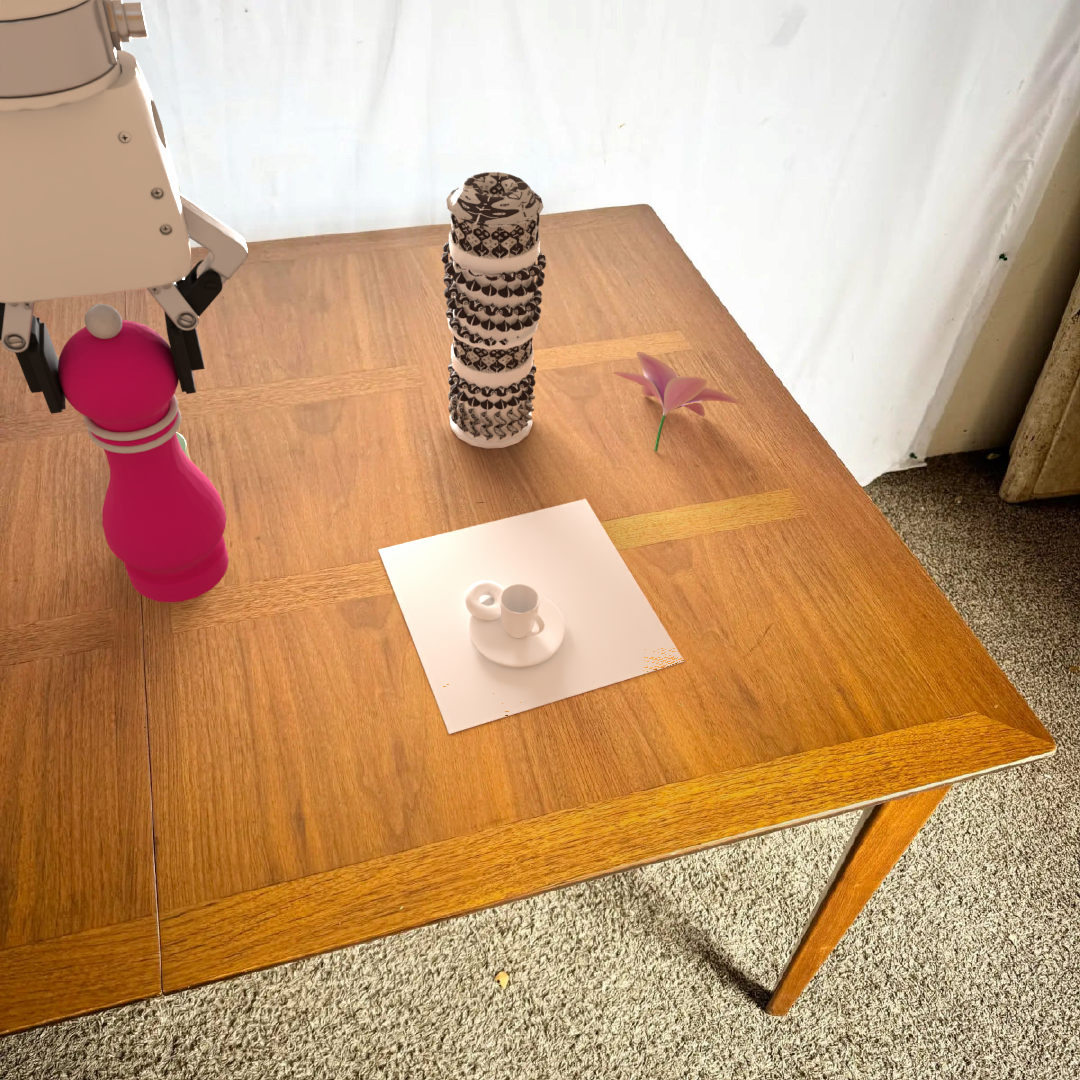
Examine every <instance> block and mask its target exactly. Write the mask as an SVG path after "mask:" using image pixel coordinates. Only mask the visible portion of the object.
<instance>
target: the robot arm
mask: <svg viewBox="0 0 1080 1080" xmlns="http://www.w3.org/2000/svg"><path fill="white" fill-rule="evenodd" d="M145 38H146V39H148V38H149V33H148V29H147V23H146V20H145V14H144V10H143V5H142V2H141V1H139V2H123V0H0V341H1V345H2V347H3V348H4V349H5V350H6V351H8V352H12V353H15V356H16V359H17V361H18V364H19V366H20V369H21V371H22V373H23V376H24V378H25V381H26V384H27V387H28V388H29V391H30V393H31V394H35V393H36V394H37V393H42V395H43V397H44V400H45V403H46V405H47V407H48V410H49V412H50V414H51V415H53V414H61V413H63V410H66V407H67V406H66V402H67V401H66V397H65V395H64V393H63V391H62V388H61V385H60V382H59V377H58V362H59V357H58V355H57V351H56V349H55V346H54V344H53V341H52V338H51V335H50V333H49V329H48V327H47V325H46V323H45V322H42V321H41V318H40V316H39V317H37V316H35V315H34V309H35V302H44V301H54V300H64V299H73V298H81V297H90V296H97V295H106V294H107V295H108V294H115V293H123V292H132V291H140V290H147V291H148V293H150V295H151V296H152V297H153V299H154V300H155V301H156V303H158V305H159V306H160V308H162V310H163V312H164V319H165V327H166V335H167V339H168V345H169V346H170V348H171V351H172V355H173V359H174V363H175V367H176V371H177V374H178V378H179V381H178V383H179V387H180V390H181V393H185V394H186V395H190V394H196V393H197V389H196V382H195V375H194V371H201V370H205V368H206V367H205V362H204V357H203V356H204V355H203V351H202V347H201V343H200V338H199V335H198V330H197V327H198V326H199V323H200V319H199V318H200V317H201V315H202V314H203V313H204V312H206V310H207V309H208V308H209V306H210V305H211V304H212V302H214V300H215V299H216V298H217V297H218V295H220V293H221V292H222V291H223V285H224V284H226V282H227V281H228V280H231V278H232V277H233V276H234V274H236V272H237V271H238V270H239V269H240V268H241V267H242V265H244V263H245V262H246V261H247V259H248V257H249V250H248V246H247V243H246V239H245V238H244V237H243V235H241V234H240V233H239V232H237V231H235V230H234V229H232V228H231V227H230V226H228V225H227V224H225V223H224V222H223V221H221V220H220V219H218V218H217V217H216V216H214V215H212V214H211V213H210V212H208V211H207V210H204V209H203V208H202V207H200V206H199V205H198V204H196V203H195V202H193V201H191V200H190V199H189V198H188V197H186V196H185V195H184V194H182V193H181V189H180V185H179V181H178V178H177V177H178V176H177V174H176V173H177V172H176V170H175V166H174V163H173V159H172V154H171V151H170V148H169V145H168V144H169V143H168V141H167V138H166V134H165V131H164V127H163V124H162V121H161V118H160V115H159V112H158V109H157V107H156V103H155V101H154V99H153V95H152V93H151V91H150V88H149V85H148V83H147V80H146V78H145V76H144V74H143V71H142V69H141V67H140V65H139V63H138V61H137V59H136V57H135V56H134V55H133V54H132V53H130V52H128V51H125V50H123V46H122V45H123V44H122V43H132V39H145ZM190 239H191V240H192V241H194V242H195V243H197V244H198V245H199V246H201V247H203V248H204V249H205V250H207V251H208V253H207V254H206V256H205V258H204V259H202V260H199V261H198V262H197V263H196V264H195V265H194V266H193V260H192V258H193V257H192V252H191V250H192V248H191V242H190V241H191V240H190ZM192 266H193V267H192Z"/></svg>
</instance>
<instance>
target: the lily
mask: <svg viewBox="0 0 1080 1080" xmlns="http://www.w3.org/2000/svg"><path fill="white" fill-rule="evenodd" d="M636 356H637V359H638V361H639V363H640V367H641V370H642V371H641V372H642V374H643V375H642V374H640V373H635V372H627V371H613V372H612V374H613V375H615V376H618V377H620V378H623V379H626V380H628V381H631V382H633V383H636V384H638V385H639V386H640V385H641V386H642V387H641V394H642V395H643V397H647V398H648V397H650V398H656V400H657V401H658V403H659V404H660V406H661V408H662V409H663V412H662V415H661V418H660V419H661V420H660V422H659V427H658V429H657V430H658V431H657V436H656V441H655V446H654V452H658V449H659V444H660V440H661V434H662V430H663V426H664V424H665V423H664V422H665V419H666V417H667V415H668V413H670V412H672V411H675V410H676V409H679V408H682V407H685V408H687V409H689V410H690V411H691V412H694V413H695V414H697V415H698V416H700V417H702V418H704V417H706V412H705V411H706V410H705V408H704V406H703V404H702V403H701V402H711V401H712V402H722V403H730V404H735V405H744V402H742V400H740V399H737V398H736V397H734V396H732V395H730V394H728V393H726V392H723V390H719V389H715V388H711V387H706V386H707V383H708V381H707V380H706V379H705V378H703V377H700V376H699V377H698V376H688V375H687V376H686V375H685V376H684V375H683V376H680V374H677V372H676V371H675V369H673V368H672V367H671V366H670V365H668V364H667V363H665V362H664V361H662V360H660V359H658V358H657V357H654V356H652V355H650V354H647V353H645V352H642V351H637V352H636Z"/></svg>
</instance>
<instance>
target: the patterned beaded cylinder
mask: <svg viewBox="0 0 1080 1080" xmlns="http://www.w3.org/2000/svg"><path fill="white" fill-rule="evenodd" d="M446 207H447V209H448V211H449V212H450V225H451V226H450V230H449V232H448V241H447V242H445V243H443V244H444V245H443V246H442V251H443V253H442V254H441V256H440V258H441V259H440V260H441V262H442V263H443V264H444V266H443V272H444V274H445V275H444V276H443V283H444V285H445V286H446V288H445V289H444V291H443V296H444V297H445V298H446V303H445V304H446V306H447V309H446V311H445V316H446V318H447V326H448V330H449V331H450V333H451V334H452V343H451V346H450V356H451V357H450V358H449V364H448V365H447V370H448V372H449V377H448V379H447V383H448V385H449V386H450V387H449V390H448V393H447V399H448V401H449V405H448V406H447V407H448V412H449V425H450V429H451V431H452V432H453V433H454V434H455V436H456V437H457V438H458V439H459V440H461V441H463V442H465V443H467V444H468V445H470V446H474V447H478V448H483V449H503V448H507V447H510V446H512V445H515V444H519V443H520V442H521V441H523V440H524V439H525V438H526V437H528V436H529V434H530V432H531V430H532V427H533V423H534V422H533V416H532V412H534V411H535V407H534V403H532V402H533V401H534V400H535V399H536V395H535V394H534V387H535V385H536V384H537V383H536V379H535V374H536V373H537V366H536V365H535V351H534V347H533V339H534V337H535V335H536V333H537V330H538V329H539V326H540V325H539V324H540V323H539V320H540V318H541V313H542V308H541V307H540V306H539V305H541V303H543V299H542V295H543V293H542V291H541V290H540V289H539V288H540V287H542V286H543V285H544V283H545V277H546V274H545V272H544V271H543V270H544V269H545V268H546V266H547V262H546V260H547V259H546V255H545V254H544V253H542V252H541V237H540V234H539V230H540V214H541V213H542V211H543V209H544V203H543V200H542V197H541V196H540V195H539V194H538V193H536V192H535V191H534V190H533V189H532V188H531V186H530V185H529V184H527V183H526V182H525V181H524V180H523V179H522V178H521V177H518V176H516V175H513V174H511V173H506V172H499V171H485V172H481V173H476V174H473V175H472V176H470V177H467V178H466V179H464V180H463V182H462V183H461V184H460V186H459V187H457V188H455V189H453V190H452V191H451V192H450V194H449V195H448V196H447V198H446ZM449 255H450V256H449ZM536 263H537V264H536Z"/></svg>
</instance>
